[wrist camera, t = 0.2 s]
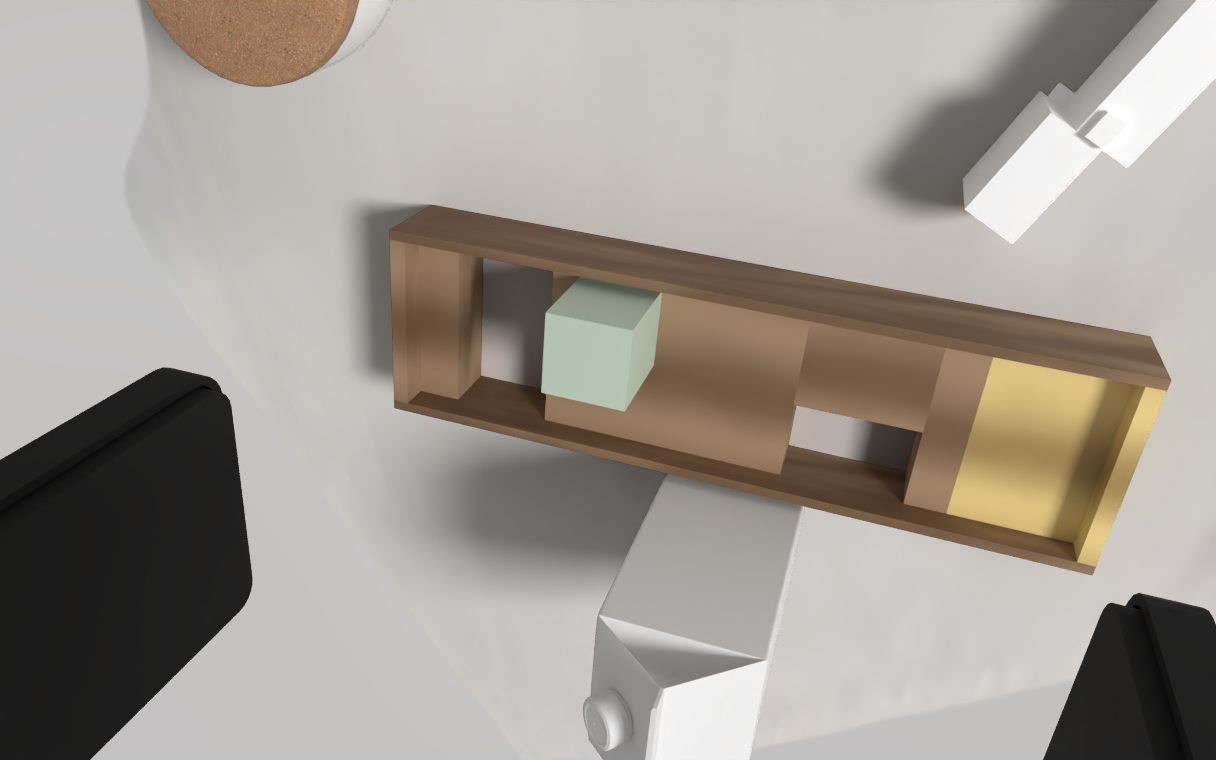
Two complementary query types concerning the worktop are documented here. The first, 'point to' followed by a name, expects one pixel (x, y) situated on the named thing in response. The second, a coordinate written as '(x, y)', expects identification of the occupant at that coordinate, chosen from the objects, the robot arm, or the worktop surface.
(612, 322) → the block
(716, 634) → the milk carton
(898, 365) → the box
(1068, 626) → the worktop surface
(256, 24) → the lidded jar
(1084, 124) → the napkin holder
